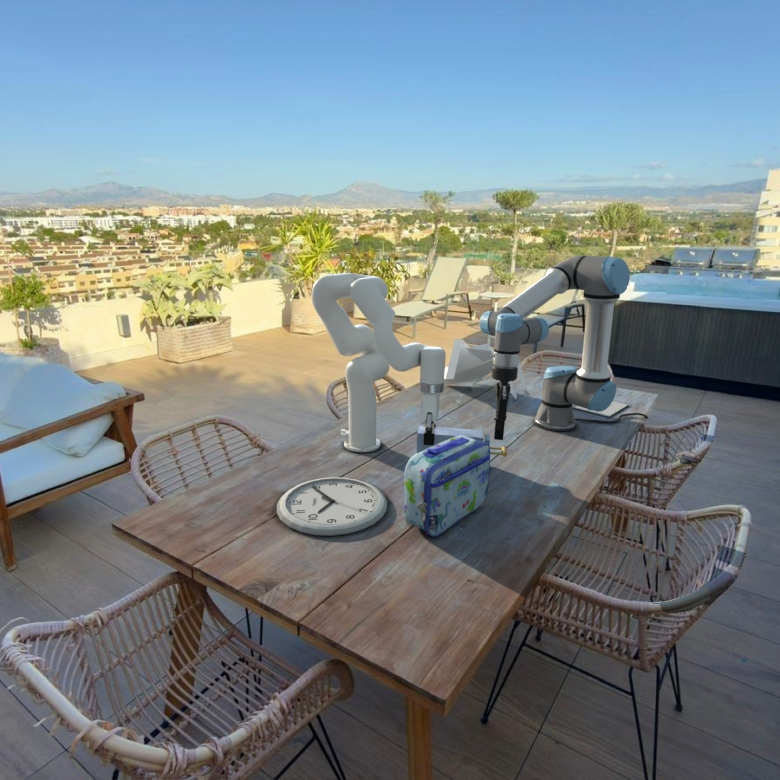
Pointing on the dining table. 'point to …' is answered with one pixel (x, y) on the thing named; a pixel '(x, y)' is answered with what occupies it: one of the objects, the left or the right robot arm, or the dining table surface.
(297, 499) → the wall clock
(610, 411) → the invitation card
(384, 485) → the dining table surface
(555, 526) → the dining table surface
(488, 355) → the white plastic object
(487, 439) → the drawer
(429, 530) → the lunch box
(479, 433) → the cabinet
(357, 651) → the dining table surface
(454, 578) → the dining table surface
